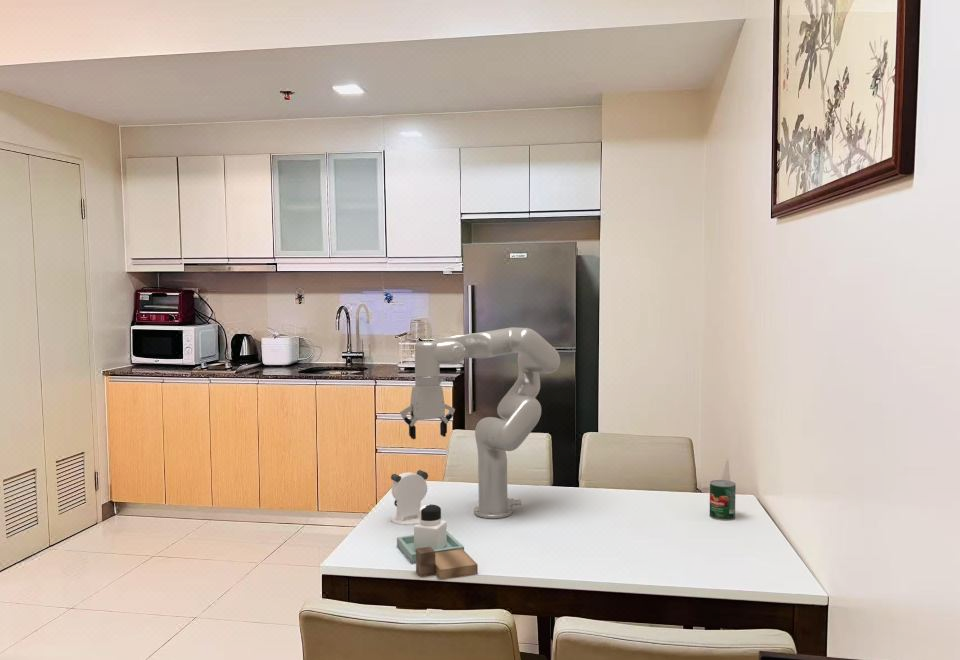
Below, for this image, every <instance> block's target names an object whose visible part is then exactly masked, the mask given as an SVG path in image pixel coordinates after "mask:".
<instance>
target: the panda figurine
mask: <svg viewBox="0 0 960 660" xmlns="http://www.w3.org/2000/svg"><path fill="white" fill-rule="evenodd" d="M428 478H429V475H428V472H426V471H424V470H422V469H418V470H417V471H416V473H415V472H409V471H408V472H403V473H400V474H399V475H398V474H397V473H392V474H391V476H390V479H391V480H392V484H391V495H392V497H393V498H394V499H395V500H394V502H393V503H394V506H395V507H396V514H395V515H393V516H392V517H391V518H390V521H391V522H392V523H393V524H396V525H402V526H412V525H416V524H418V523H419V522H420V521H419V509H420V507H421V504H422V503H421V502H422V501H423V499H424V498H425V496H426V495H427V492H428V484H427V482H426V480H428Z"/></svg>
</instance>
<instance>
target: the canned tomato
mask: <svg viewBox="0 0 960 660" xmlns="http://www.w3.org/2000/svg"><path fill="white" fill-rule="evenodd" d="M736 485H737V484H736V482H733V481H731V480H725V479H713V480H710V481H709V515H708V516H709V517H710V518H711V519H714V520H716V521H732V520H736V519H735V518H736V491H737V490H736Z"/></svg>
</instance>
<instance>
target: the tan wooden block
mask: <svg viewBox="0 0 960 660" xmlns="http://www.w3.org/2000/svg"><path fill="white" fill-rule="evenodd" d="M478 567H479V566H478V563H477V562H476V561H475V560H474V559H473V558H472V557H471V556H470V555H469V554H468V553H467V552H466V551H465V549H464V550H463V549H459V550H452V551H445V552H438V553H435V568H436V574H435V575H436V576H437V577H438V578H439V579H440V580H447V579H453V578H461V577H468V576H473V575H478Z"/></svg>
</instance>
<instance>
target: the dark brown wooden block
mask: <svg viewBox="0 0 960 660" xmlns="http://www.w3.org/2000/svg"><path fill="white" fill-rule="evenodd" d="M415 571H416V573H417V574H418V576H419V577H421V578H422V577H429V576H434V575H436V568H435V551H434V550H433V549H432V548H431V547H424V548H417V549H416V563H415Z"/></svg>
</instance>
